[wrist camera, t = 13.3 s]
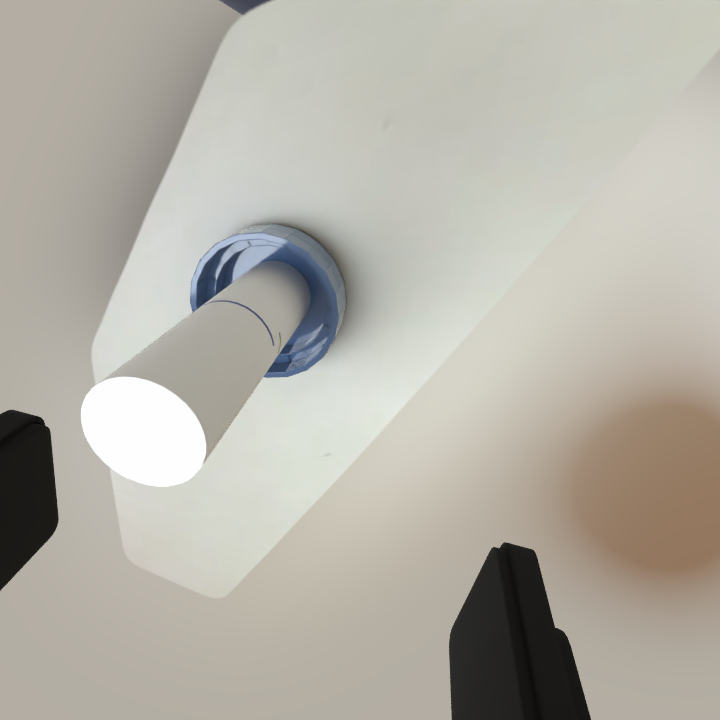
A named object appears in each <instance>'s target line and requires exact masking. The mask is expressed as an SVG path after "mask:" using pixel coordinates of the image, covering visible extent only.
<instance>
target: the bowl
mask: <svg viewBox="0 0 720 720" xmlns="http://www.w3.org/2000/svg"><path fill="white" fill-rule="evenodd" d="M264 261H280V262H284V263H287V264H289V265H291V266H292V267H294V268H295V269H297V270H298V271H299V272H300V273H301V274H302V275H303V277H304V278H305V280H306V282H307V284H308V286H309V289H310V294H311V302H310V307H309V310H308V312H307V314H306V315H305V317H304V318H303V320H302V321H301V323H300V324H299V326H298V327H297V328H296V330H295V331H294V333H293V334H292V336H291V337H290V339H289V340H288V342H287V343H286V345H285V346H284V348H283V349H282V350H281V352H280V353H279V355H278V356H277V358H276V359H275V361H274V362H273V364H272V365H271V367H270V368H269V369H268V371H267V372H266V374H265V375H264V377H266V378H269V377H289V376H292V375H295V374H297V373H300V372H303V371H306V370H308V369H309V368H310V367H312V366H313V365H314V364H315V363H317V362H318V361H319V360H320V359H322V358H323V357H324V355H325V354H326V352H327V351H328V349H329V347H330V346H331V344H332V342H333V341H334V339H335V337H336V335H337V333H338V330H339V328H340V326H341V324H342V321H343V316H344V311H345V307H346V296H345V288H344V281H343V278H342V276H341V274H340V272H339V269H338V267H337V265H336V263H335V261H334V259H333V258H332V257H331V256H330V255H329V254H328V253H327V251H326V250H325V249H324V248H323V247H322V246H321V245H320V244H319V243H318V242H317V241H316V240H314V239H312V238H311V237H309V236H307V235H306V234H304V233H303V232H301V231H299V230H297V229H294V228H290V227H286V226H282V225H278V224H268V225H256V226H251V227H249V228H247V229H245V230H243V231H240V232H238V233H236V234H234V235H232V236H230V237H228V238H226V239H224V240H222V241H220V242H218V243H216V244H215V245H214V246H213V247H212V248H211V249H210V250H209V251H208V252H207V253H206V254H205V255H204V256H203V257H202V258H201V259H200V261H199V264H198V266H197V268H196V271H195V273H194V276H193V278H192V281H191V297H190V304H191V308H192V311H193V312H194V311H195V310H197V309H198V308H199V307H201V306H202V305H203V304H205V303H206V302H207V301H209V300H210V299H212V298H213V297H214V296H216V295H217V294H218V293H220V292H221V291H222V290H224V289H225V288H226V287H228V286H229V285H230V284H232V283H233V282H234V281H236V280H237V279H238V278H240V277H241V276H242V275H243V274H245V273H246V272H247V271H249V270H250V269H251V268H253V267H254V266H256V265H257V264H259V263H262V262H264Z"/></svg>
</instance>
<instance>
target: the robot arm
mask: <svg viewBox="0 0 720 720" xmlns="http://www.w3.org/2000/svg"><path fill="white" fill-rule="evenodd" d="M57 524H58V508H57V497H56V487H55V476H54V465H53V455H52V445H51V434H50V429H49V428H48V427H46V426H45V423H44V420H43V419H42V418H41V417H38V416H34V415H30V414H27V413H23V412H19V411H15V410H8V411H6V412H4V413H2V414H0V590H1V589H2V588H3V587H4V586H5V585H6V584H7V583H8V582H9V581H10V580H11V579H12V578H13V577H14V575H15V574H16V573H17V572H18V571H19V570H20V569H21V568H22V567H23V566H24V565H25V564H26V563H27V562H28V561H29V560H30V558H31V557H32V556H33V555H34V554H35V553H36V552H37V551H38V550H39V549H40V548H41V547H42V546H43V545H44V543H46V542H47V541H48V539H49V538H50V537H51V536H52V535H53V533H54V532H55V530H56V527H57ZM449 656H450V679H451V680H450V683H451V709H452V720H591V718H590V714H589V711H588V707H587V704H586V700H585V696H584V693H583V689H582V686H581V682H580V678H579V674H578V671H577V667H576V664H575V660H574V656H573V653H572V649H571V646H570V643H569V640H568V638H567V636H566V635H565V633H564V632H563V631H562V630H560V629H558V628H555V626H554V622H553V618H552V614H551V610H550V606H549V602H548V599H547V595H546V591H545V587H544V583H543V579H542V575H541V571H540V567H539V563H538V559H537V556H536V553H535V552H534V550H532V549H528V548H524V547H521V546H517V545H513V544H510V543H503V544H502V545H501V547H500V548H496V547H493V548H492V549H491V551H490V552H489V554H488V556H487V559H486V560H485V562H484V564H483V566H482V569H481V570H480V572H479V574H478V577H477V579H476V581H475V583H474V585H473V587H472V589H471V591H470V593H469V595H468V597H467V599H466V601H465V603H464V605H463V607H462V609H461V611H460V613H459V615H458V617H457V619H456V621H455V623H454V625H453V627H452V630H451V634H450V642H449Z"/></svg>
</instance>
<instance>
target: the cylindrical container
mask: <svg viewBox="0 0 720 720" xmlns="http://www.w3.org/2000/svg"><path fill="white" fill-rule="evenodd" d="M310 302H311V294H310V289H309V286H308V284H307V282H306V280H305V278H304V277H303V275H302V274H301V273H300V272H299V271H298V270H297V269H295V268H294V267H292V266H291V265H289V264H287V263H284V262H280V261H264V262H262V263H259V264H257V265H256V266H254V267H253V268H251V269H250V270H249V271H247V272H246V273H245V274H243V275H242V276H241V277H240V278H238V279H237V280H236V281H234V282H233V283H232V284H230V285H229V286H228V287H226V288H225V289H224V290H222V291H221V292H220V293H218V294H217V295H216V296H214V297H213V298H212V299H210V300H209V301H207V302H206V303H205V304H203V305H202V306H201V307H199V308H198V309H197V310H195V311H194V312H193V313H191V314H190V315H189V316H188V317H186V318H185V319H184V320H182V321H181V322H180V323H178V324H177V325H176V326H174V327H173V328H172V329H170V330H169V331H168V332H166V333H165V334H164V335H162V336H161V337H160V338H158V339H157V340H156V341H154V342H153V343H152V344H150V345H149V346H148V347H146V348H145V349H144V350H142V351H141V352H140V353H138V354H137V355H136V356H134V357H133V358H132V359H130V360H129V361H128V362H126V363H125V364H124V365H122V366H121V367H120V368H118V369H117V370H116V371H114V372H113V373H112V374H110V375H109V376H108V377H106V378H105V379H104V380H102V381H101V382H100V383H98V384H97V385H96V386H94V387H93V388H92V389H91V390H90V392H89V393H88V394H87V395H86V397H85V400H84V402H83V404H82V410H81V421H82V427H83V431H84V434H85V436H86V438H87V440H88V442H89V444H90V446H91V447H92V449H93V450H94V452H95V453H96V454H97V455H98V456H99V457H100V459H101V460H103V462H104V463H105V464H107V465H108V466H109V467H110V468H112V469H113V470H114V471H116V472H117V473H119V474H121V475H122V476H124V477H126V478H128V479H130V480H133V481H135V482H138V483H141V484H145V485H149V486H159V487H164V486H173V485H177V484H181V483H183V482H185V481H187V480H189V479H191V478H192V477H193V476H194V475H195V474H197V472H198V471H199V469H200V468H201V467H202V465H203V464H204V462H205V461H206V459H207V458H208V456H209V455H210V453H211V452H212V451H213V449H214V448H215V446H216V445H217V443H218V442H219V440H220V439H221V438H222V436H223V435H224V433H225V432H226V430H227V429H228V427H229V426H230V425H231V423H232V422H233V420H234V419H235V417H236V416H237V414H238V413H239V411H240V410H241V409H242V407H243V406H244V404H245V403H246V401H247V400H248V398H249V397H250V396H251V394H252V393H253V391H254V390H255V388H256V387H257V385H258V384H259V383H260V381H261V380H262V378H263V377H264V375H265V374H266V372H267V371H268V369H269V368H270V367H271V365H272V364H273V362H274V361H275V359H276V358H277V356H278V355H279V353H280V352H281V350H282V349H283V348H284V346H285V345H286V343H287V342H288V340H289V339H290V337H291V336H292V334H293V333H294V331H295V330H296V328H297V327H298V326H299V324H300V323H301V321H302V320H303V318H304V317H305V315H306V314H307V312H308V310H309V307H310Z"/></svg>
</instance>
